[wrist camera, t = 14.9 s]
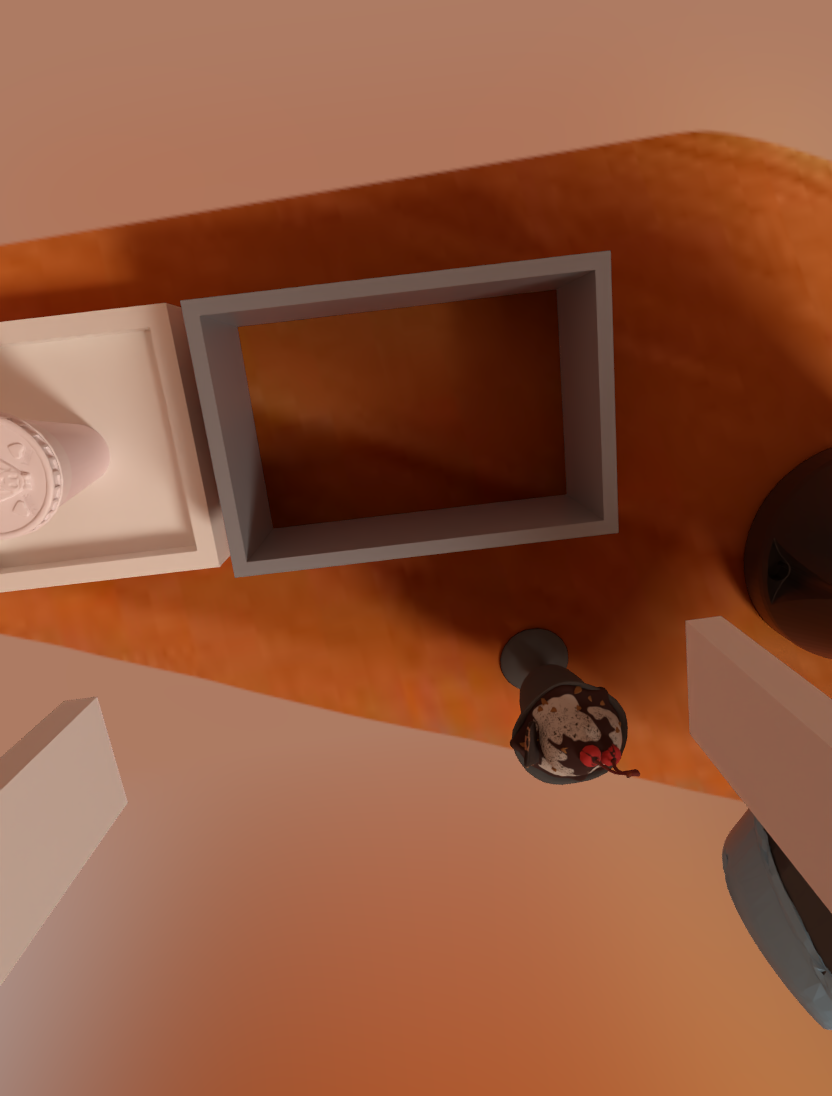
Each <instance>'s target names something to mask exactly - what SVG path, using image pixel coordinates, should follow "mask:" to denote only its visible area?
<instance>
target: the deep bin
mask: <svg viewBox="0 0 832 1096" xmlns="http://www.w3.org/2000/svg"><path fill="white" fill-rule="evenodd" d="M549 290H557V310H558V330H559V350H560V370H561V390H562V410H563V430H564V450H565V470H566V490H567V494H565V495H556V496H547V497H539V498H530V499H522V500H513V501H505V502H496V503H487V504H479V505H470V506H462V507H453V508H445V509H436V510H427V511H419V512H410V513H402V514H393V515H385V516H376V517H368V518H359V519H350V520H342V521H333V522H325V523H316V524H308V525H299V526H290V527H282V528H273V525H272V519H271V513H270V508H269V502H268V496H267V491H266V485H265V480H264V474H263V468H262V463H261V457H260V451H259V446H258V440H257V435H256V429H255V423H254V418H253V412H252V406H251V401H250V395H249V389H248V384H247V378H246V373H245V367H244V361H243V356H242V350H241V344H240V339H239V333H238V328H237V327H241V326H249V325H258V324H266V323H275V322H283V321H292V320H301V319H309V318H318V317H326V316H335V315H343V314H352V313H361V312H369V311H378V310H386V309H395V308H403V307H412V306H421V305H429V304H438V303H446V302H455V301H463V300H472V299H481V298H489V297H498V296H506V295H515V294H523V293H532V292H541V291H549ZM180 303H181V308H182V313H183V318H184V323H185V328H186V333H187V338H188V343H189V348H190V353H191V358H192V363H193V368H194V373H195V378H196V384H197V389H198V394H199V399H200V404H201V409H202V414H203V419H204V424H205V429H206V434H207V439H208V444H209V449H210V454H211V459H212V464H213V469H214V474H215V479H216V484H217V489H218V494H219V500H220V505H221V510H222V515H223V520H224V525H225V530H226V535H227V540H228V545H229V550H230V555H231V560H232V565H233V570H234V575H235V578H236V577H245V576H253V575H262V574H270V573H279V572H287V571H296V570H305V569H313V568H322V567H330V566H339V565H347V564H356V563H365V562H373V561H382V560H390V559H399V558H407V557H416V556H424V555H433V554H442V553H450V552H459V551H467V550H476V549H484V548H493V547H502V546H510V545H519V544H527V543H536V542H544V541H553V540H561V539H570V538H579V537H587V536H596V535H604V534H613V533H619V528H618V492H617V456H616V421H615V385H614V349H613V314H612V278H611V250H610V251H601V252H593V253H584V254H576V255H567V256H559V257H550V258H541V259H533V260H524V261H516V262H507V263H499V264H490V265H481V266H473V267H464V268H456V269H447V270H439V271H430V272H421V273H413V274H404V275H396V276H387V277H379V278H370V279H361V280H353V281H344V282H336V283H327V284H319V285H310V286H301V287H293V288H284V289H276V290H267V291H259V292H250V293H241V294H233V295H224V296H216V297H207V298H199V299H190V300H181V301H180Z"/></svg>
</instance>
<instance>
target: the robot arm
mask: <svg viewBox="0 0 832 1096" xmlns="http://www.w3.org/2000/svg"><path fill="white" fill-rule="evenodd" d="M744 573H745V581H746V585H747V589H748V592H749V595H750V598H751V600H752V602H753V604H754V606H755V608H756V610H757V611H758V613H759V614H760V616H761V617H762V618H763V619H764V621H765V622H766V623H767V624H768V625H769V626H770V627H771V628H773V629H774V630H775V631H776V632H778V633H779V634H781V635H782V636H784V637H785V638H787V639H788V640H790V641H791V642H793V643H794V644H796V645H797V646H799V647H800V648H802V649H804V650H806V651H809V652H811V653H813V654H816V655H819V656H822V657H825V658H829V659H832V448H830V449H827V450H825V451H823V452H821V453H819V454H817V455H815V456H813V457H811V458H809V459H808V460H806V461H804V462H803V463H801V464H800V465H799V466H797V467H796V468H795V469H793V470H792V471H791V472H790V473H789V474H787V475H786V476H785V477H784V478H783V479H782V480H781V481H780V482H779V483H778V484H777V485H776V487H775V488H774V489H773V490H772V491H771V493H770V494H769V495H768V496H767V498H766V499H765V501H764V502H763V504H762V506H761V507H760V509H759V511H758V513H757V515H756V517H755V519H754V521H753V523H752V526H751V529H750V532H749V535H748V539H747V543H746V548H745V556H744ZM686 647H687V673H688V699H689V725H690V734H691V736H692V737H693V738H694V740H695V741H696V742H697V743H698V745H699V746H700V747H701V748H702V750H703V751H704V752H705V753H706V755H707V756H708V757H709V759H710V760H711V761H712V762H713V764H714V765H715V766H716V767H717V769H718V770H719V771H720V773H721V774H722V775H723V776H724V778H725V779H726V780H727V781H728V783H729V784H730V785H731V786H732V788H733V789H734V790H735V792H736V793H737V794H738V795H739V797H740V798H741V799H742V800H743V802H744V803H745V804H746V805H747V807H748V810H747V811H746V812H745V814H744V815H743V816H742V818H741V819H740V820H739V821H738V823H737V824H736V825H735V826H734V827H733V829H732V830H731V831H730V833H729V835H728V836H727V838H726V841H725V843H724V847H723V853H722V859H723V869H724V872H725V879H726V883H727V887H728V890H729V893H730V896H731V898H732V900H733V902H734V905H735V907H736V909H737V911H738V913H739V915H740V917H741V919H742V921H743V923H744V925H745V926H746V928H747V930H748V932H749V933H750V935H751V937H752V938H753V940H754V942H755V943H756V944H757V946H758V948H759V949H760V951H761V952H762V954H763V955H764V957H765V958H766V960H767V961H768V963H769V964H770V965H771V967H772V968H773V969H774V971H775V972H776V974H777V975H778V976H779V977H780V979H781V980H782V982H783V983H784V984H785V985H786V987H787V988H788V989H789V990H790V992H791V993H792V994H793V995H794V997H795V998H796V999H797V1000H798V1001H799V1003H800V1004H801V1005H802V1006H803V1007H804V1008H805V1009H806V1011H807V1012H808V1013H809V1014H810V1015H811V1016H812V1017H813V1018H814V1019H815V1020H816V1021H817V1022H818V1023H819V1024H820V1025H821V1026H822V1027H823V1028H825V1029H828V1030H832V699H831V698H829V697H828V696H827V695H825V694H824V693H823V692H821V691H820V690H819V689H817V688H816V687H815V686H813V685H812V684H811V683H809V682H808V681H807V680H805V679H804V678H803V677H801V676H800V675H799V674H797V673H796V672H795V671H793V670H792V669H791V668H789V667H788V666H787V665H785V664H784V663H783V662H781V661H780V660H779V659H777V658H776V657H775V656H773V655H772V654H771V653H770V652H768V651H767V650H766V649H764V648H763V647H762V646H760V645H759V644H758V643H756V642H755V641H754V640H752V639H751V638H750V637H748V636H747V635H746V634H744V633H743V632H742V631H740V630H739V629H738V628H736V627H735V626H734V625H732V624H731V623H730V622H728V621H727V620H726V619H724V618H723V617H722V616H717V617H710V618H702V619H694V620H686ZM127 803H128V802H127V799H126V795H125V792H124V788H123V785H122V781H121V778H120V774H119V771H118V767H117V764H116V760H115V757H114V754H113V750H112V746H111V743H110V739H109V736H108V732H107V729H106V726H105V722H104V719H103V715H102V712H101V708H100V705H99V701H98V698H97V697H91V698H84V699H76V700H68V701H63V702H62V703H61V704H60V705H59V706H58V707H57V708H56V709H55V710H53V711H52V712H51V713H50V714H49V715H48V716H47V717H46V718H44V719H43V720H42V721H41V722H40V723H39V724H38V725H37V726H35V727H34V728H33V729H32V730H31V731H30V732H29V733H28V734H26V735H25V736H24V737H23V738H22V739H21V740H20V741H19V742H18V743H16V744H15V745H14V746H13V747H12V748H11V749H10V750H9V751H7V752H6V753H5V754H4V755H3V756H2V757H1V758H0V986H1V985H2V983H3V982H4V980H5V979H6V977H7V976H8V974H9V973H10V972H11V970H12V969H13V967H14V966H15V964H16V963H17V962H18V960H19V959H20V957H21V956H22V954H23V953H24V951H25V950H26V949H27V947H28V946H29V944H30V943H31V941H32V940H33V938H34V937H35V936H36V934H37V933H38V931H39V930H40V928H41V927H42V926H43V924H44V923H45V921H46V920H47V918H48V917H49V915H50V914H51V912H52V911H53V910H54V908H55V907H56V905H57V904H58V902H59V901H60V900H61V898H62V897H63V895H64V894H65V892H66V891H67V890H68V888H69V886H70V885H71V884H72V882H73V881H74V879H75V878H76V877H77V875H78V874H79V872H80V871H81V869H82V868H83V866H84V865H85V864H86V862H87V861H88V859H89V858H90V856H91V855H92V854H93V852H94V851H95V849H96V848H97V846H98V845H99V843H100V842H101V841H102V839H103V838H104V836H105V835H106V833H107V832H108V830H109V829H110V828H111V826H112V825H113V823H114V822H115V820H116V819H117V818H118V816H119V815H120V813H121V812H122V810H123V809H124V807H125V806H126V805H127Z"/></svg>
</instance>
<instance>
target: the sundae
mask: <svg viewBox="0 0 832 1096" xmlns="http://www.w3.org/2000/svg"><path fill="white" fill-rule="evenodd" d="M500 662H501V669H502V673H503V674H504V676H505V678H506V679H507V680H508V682H509V683H511V684H512V685H513V686H515V687H517V688H519V689H520V708H521V714H520V716H519V718H518V720H517V722H516V724H515V726H514V729H513V733H512V739H511V741H510V745H511V747H512V748H513V749H514V751H515V754H516V756H517V758H518V759H519V761H520V763H521V764H522V765H523V767H524V768H525V769H526V771H527V772H529V773H530V774H531V775H533V776H534V777H535V778H537V779H539V780H541V781H543V782H546V783H550V784H561V785H563V784H571V783H577V782H583V781H588V780H591V779H594V778H596V777H599V776H601V775H603V774H605V773H607V772H608V771H609V772H612V773H614V774H618V775H626V776H627V778H629V777H631V776H640V773H639V771H638V770H636V769H634V770H629V771H623V772H622V771H620V770H618V769H617V767H616V764H617V763H618V762H619V760H620V759H621V756H622V753H623V750H624V748H625V744H626V740H627V729H628V727H627V719H626V714H625V712H624V710H623V708H622V707H621V705H620V704H619V703H618V701H617V700H616V699H614V698H613V697H612V696H611V695H609V694H608V692H607V690H606V689H605V688H603V687H595V686H592V685H589V684H586V683H584V682H583V681H582V680H581V679H580V678H579V677H578V676H576V675H575V674H574V673H572V672H571V671H569V670H568V669H566V668H567V664H568V652H567V648H566V646H565V644H564V642H563V641H562V640H561V638H560V637H558V636H557V635H556V634H554V633H552V632H551V631H548V630H544V629H538V628H537V629H529V630H524V631H522V632H520V633H518V634H517V635H515V636H514V637H512V638H511V639H510V640H509V641H508V643H507V644H506V645H505V647H504V649H503V651H502V655H501V659H500ZM612 767H613V768H614V770H615V771H614V770H611V768H612Z"/></svg>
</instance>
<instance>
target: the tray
mask: <svg viewBox="0 0 832 1096" xmlns="http://www.w3.org/2000/svg"><path fill="white" fill-rule="evenodd" d="M0 412H2V413H7V414H11V415H13V416H15V417H17V418H20V419H23V420H34V421H46V422H57V423H69V424H80V425H85V426H88V427H90V428H92V429H94V430H95V431H97V432H98V433H99V434H100V435H101V436H102V437H103V438H104V440H105V441H106V443H107V445H108V448H109V452H110V462H109V466H108V469H107V470H106V472H105V473H104V474H103V475H102V476H101V477H100V478H99V479H97V480H96V481H95V482H93V483H92V484H90V485H89V486H88V487H86V488H85V489H83V490H82V491H81V492H79V493H78V494H76V495H75V496H74V497H72V498H71V499H69V500H68V501H67V502H65V503H64V504H63V505H61V506H60V507H59V508H58V510H57V512H56V513H55V514H54V515H53V517H52V518H51V519H50V521H49V522H48V523H46V524H45V525H44V526H42V527H41V528H39V529H38V530H36V531H34V532H32V533H29V534H26V535H23V536H19V537H16V538H12V539H6V540H0V592H8V591H16V590H25V589H33V588H42V587H51V586H59V585H68V584H76V583H85V582H93V581H102V580H111V579H119V578H128V577H136V576H145V575H153V574H162V573H171V572H179V571H188V570H196V569H205V568H213V567H220V566H221V565H222V564H223V563H224V561H225V560H226V559H227V558H228V557H229V556H230V552H229V547H228V541H227V536H226V531H225V526H224V521H223V516H222V511H221V506H220V501H219V496H218V491H217V486H216V481H215V476H214V471H213V466H212V461H211V456H210V451H209V446H208V441H207V436H206V431H205V426H204V421H203V415H202V410H201V405H200V400H199V395H198V390H197V385H196V380H195V375H194V370H193V365H192V360H191V355H190V350H189V345H188V340H187V335H186V330H185V325H184V320H183V315H182V310H181V307H178V306H175V305H172V304H168V303H159V304H150V305H142V306H133V307H125V308H116V309H107V310H99V311H90V312H82V313H73V314H65V315H56V316H47V317H39V318H30V319H22V320H13V321H5V322H0Z"/></svg>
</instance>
